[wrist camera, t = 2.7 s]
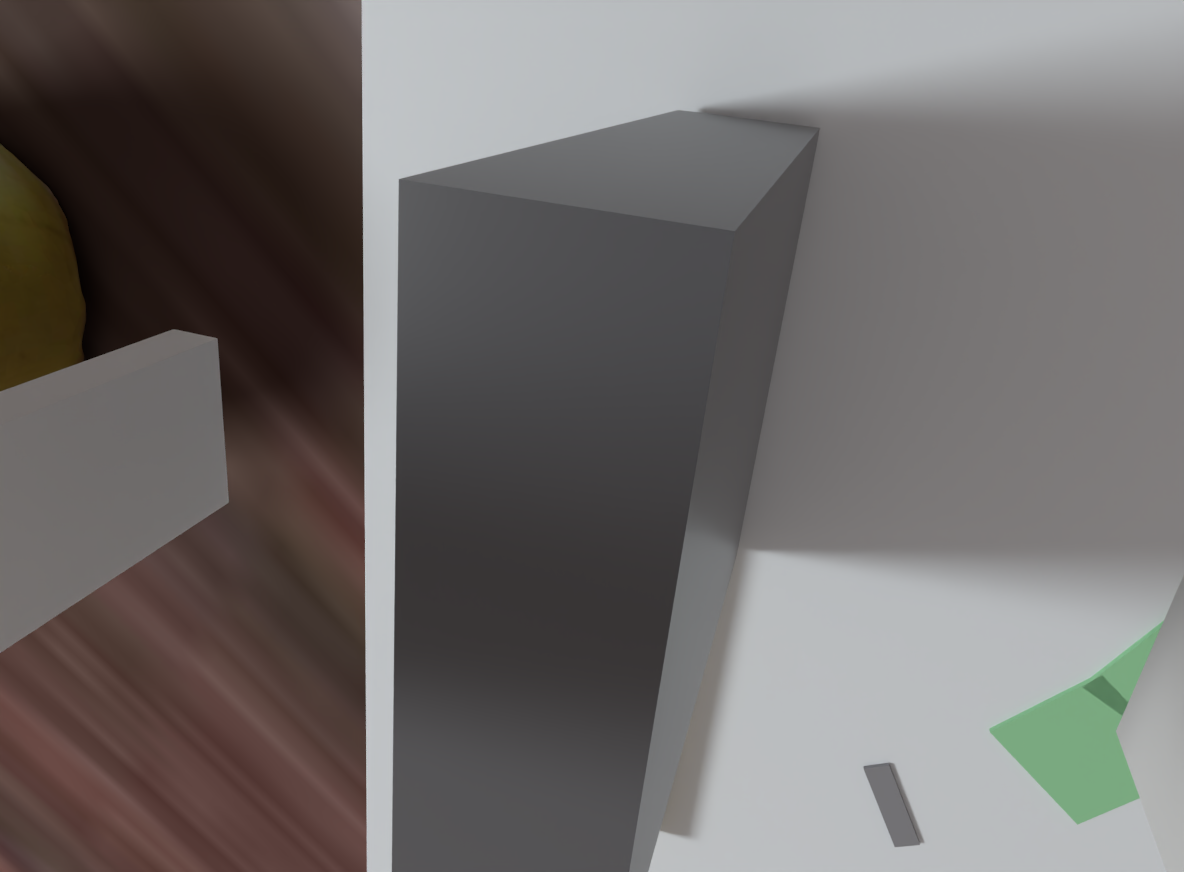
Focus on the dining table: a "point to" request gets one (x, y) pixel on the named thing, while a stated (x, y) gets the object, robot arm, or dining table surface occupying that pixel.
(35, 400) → the robot arm
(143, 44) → the dining table surface
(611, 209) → the gray bar
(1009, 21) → the board
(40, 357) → the mug
